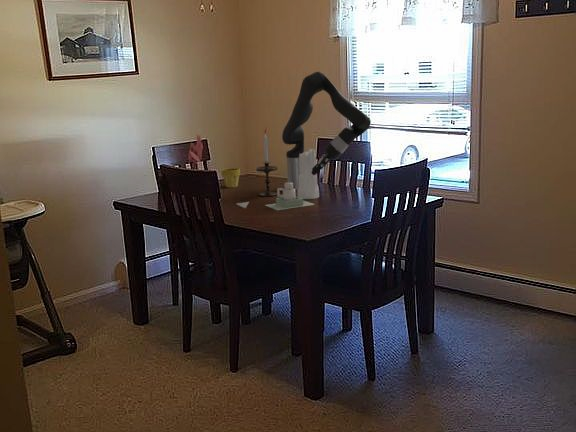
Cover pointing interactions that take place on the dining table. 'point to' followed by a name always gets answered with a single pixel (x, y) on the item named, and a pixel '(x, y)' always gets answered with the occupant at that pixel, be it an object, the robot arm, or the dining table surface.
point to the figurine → (198, 149)
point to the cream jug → (287, 192)
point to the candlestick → (266, 170)
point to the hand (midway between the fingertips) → (312, 172)
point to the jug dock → (288, 203)
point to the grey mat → (243, 204)
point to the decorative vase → (307, 176)
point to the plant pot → (231, 177)
